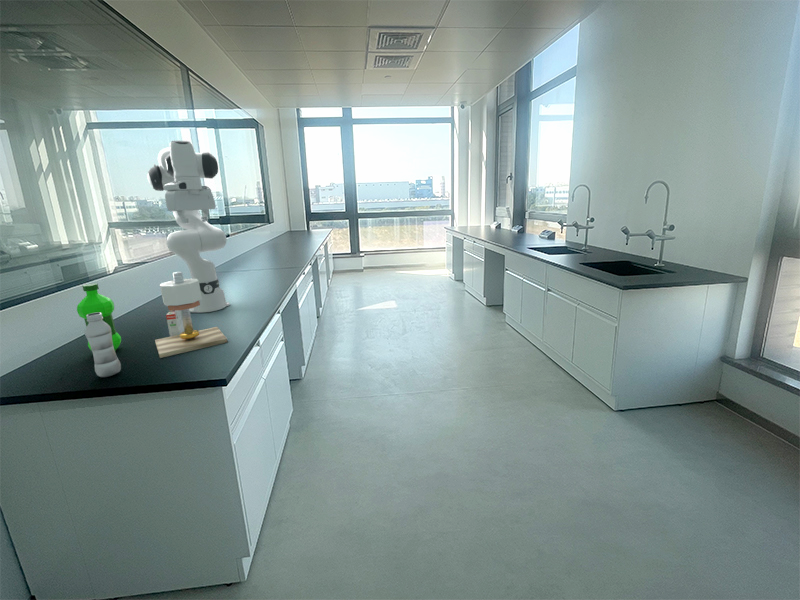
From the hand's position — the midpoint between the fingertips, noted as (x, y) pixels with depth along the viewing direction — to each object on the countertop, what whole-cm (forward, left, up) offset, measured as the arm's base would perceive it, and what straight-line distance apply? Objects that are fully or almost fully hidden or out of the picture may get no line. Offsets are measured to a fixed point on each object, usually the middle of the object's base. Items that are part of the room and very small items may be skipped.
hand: (195, 222), depth 152 cm
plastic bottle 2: (+27, -36, -44) cm, 63 cm away
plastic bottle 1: (+1, -37, -44) cm, 57 cm away
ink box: (-1, -14, -44) cm, 46 cm away
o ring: (+13, -11, -29) cm, 34 cm away
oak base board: (+13, -11, -44) cm, 47 cm away
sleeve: (+13, -11, -27) cm, 32 cm away
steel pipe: (+13, -11, -42) cm, 45 cm away
